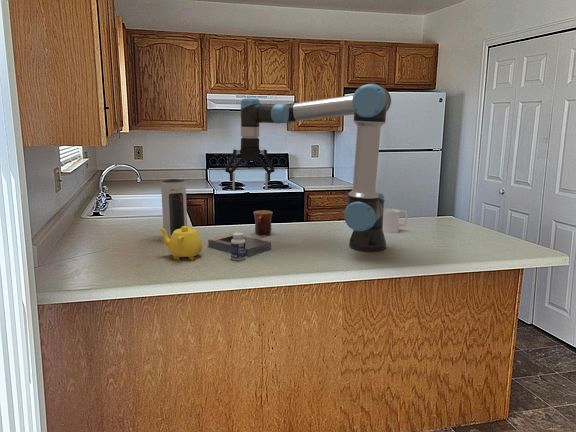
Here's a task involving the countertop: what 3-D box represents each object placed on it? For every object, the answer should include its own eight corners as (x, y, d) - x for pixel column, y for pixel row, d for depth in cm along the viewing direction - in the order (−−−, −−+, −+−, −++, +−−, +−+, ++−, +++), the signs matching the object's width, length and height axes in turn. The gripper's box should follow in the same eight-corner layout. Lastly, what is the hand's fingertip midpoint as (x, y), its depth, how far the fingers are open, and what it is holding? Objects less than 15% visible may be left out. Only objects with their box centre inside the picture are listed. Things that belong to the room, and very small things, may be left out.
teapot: (189, 249, 196) (188, 220, 194) (210, 256, 186) (210, 226, 184) (158, 255, 187) (157, 225, 184) (179, 264, 177) (178, 232, 174)
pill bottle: (239, 261, 180) (239, 236, 178) (228, 259, 183) (227, 234, 181) (248, 258, 185) (248, 233, 183) (237, 256, 188) (236, 231, 186)
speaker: (162, 242, 207) (160, 181, 201) (163, 236, 217) (161, 178, 211) (188, 241, 209) (186, 180, 203) (187, 235, 219) (186, 177, 213)
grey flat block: (271, 249, 197) (271, 242, 197) (247, 256, 186) (247, 249, 186) (232, 240, 211) (232, 233, 210) (208, 247, 200) (208, 239, 199)
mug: (256, 231, 228) (256, 209, 226) (274, 232, 226) (274, 210, 224) (249, 237, 216) (249, 215, 214) (268, 238, 214) (268, 215, 212)
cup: (407, 233, 227) (409, 212, 225) (381, 232, 228) (382, 211, 226) (405, 229, 235) (406, 209, 233) (380, 228, 236) (381, 208, 234)
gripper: (279, 137, 203) (278, 187, 207) (218, 136, 199) (219, 188, 204) (281, 138, 196) (281, 190, 200) (219, 137, 192) (219, 190, 196)
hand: (250, 189), depth 202 cm, fingers open, 13 cm apart
